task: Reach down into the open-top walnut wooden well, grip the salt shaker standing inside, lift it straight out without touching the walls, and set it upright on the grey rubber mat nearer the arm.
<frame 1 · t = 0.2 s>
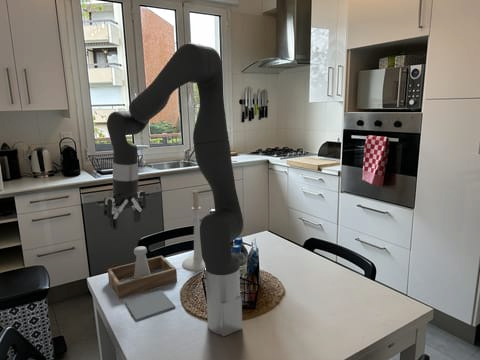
hand: (125, 225, 111), 23 cm above the table, tool pointing down, fingers open, 8 cm apart
salt shaker: (142, 282, 123), resting in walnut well
candlestick: (198, 264, 137), on the table
grey mat: (149, 305, 108), on the table
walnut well: (142, 282, 123), on the table
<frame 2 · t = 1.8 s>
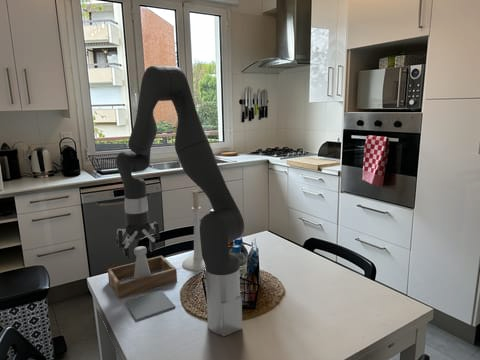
hand: (140, 254, 121), 10 cm above the table, tool pointing down, fingers open, 8 cm apart
nothing on the table moved.
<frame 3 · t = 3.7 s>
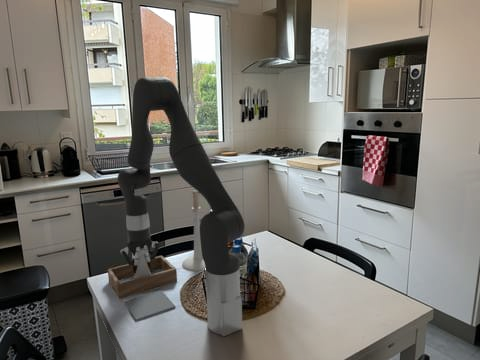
hand: (142, 272, 122), 4 cm above the table, tool pointing down, fingers closed on salt shaker, 3 cm apart
salt shaker: (142, 282, 123), resting in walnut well, touching gripper
everything else where it was.
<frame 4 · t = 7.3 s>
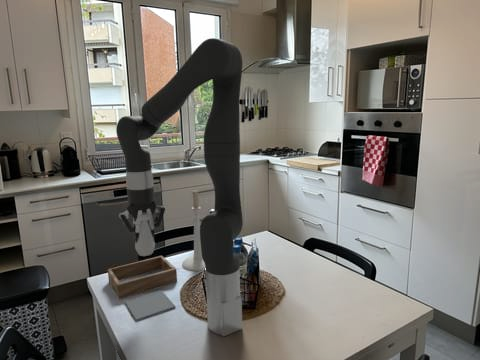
hand: (144, 241, 104), 21 cm above the table, tool pointing down, fingers closed on salt shaker, 3 cm apart
salt shaker: (145, 254, 104), point 17 cm above the table, touching gripper
everything else where it was.
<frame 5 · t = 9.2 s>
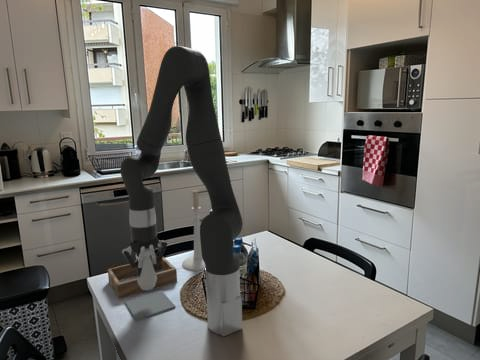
hand: (147, 275, 106), 10 cm above the table, tool pointing down, fingers closed on salt shaker, 3 cm apart
salt shaker: (147, 287, 107), point 6 cm above the table, touching gripper
everything else where it was.
when the fingers open (6 cm above the table, at t = 10.8 s): salt shaker drops 1 cm, resting on grey mat.
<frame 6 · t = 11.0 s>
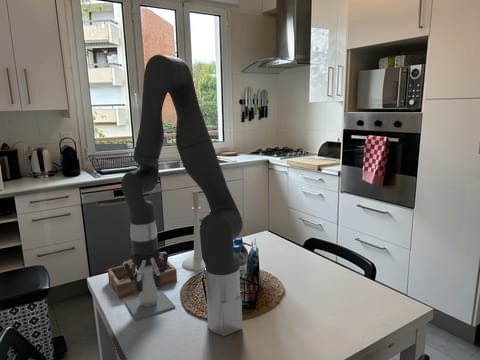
hand: (148, 288, 107), 6 cm above the table, tool pointing down, fingers open, 4 cm apart
salt shaker: (149, 304, 108), resting on grey mat
everything else where it was.
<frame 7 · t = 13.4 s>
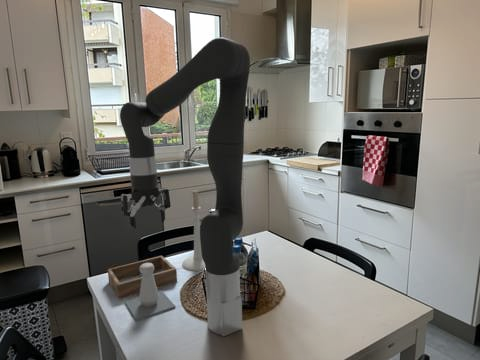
hand: (147, 225, 105), 26 cm above the table, tool pointing down, fingers open, 8 cm apart
nothing on the table moved.
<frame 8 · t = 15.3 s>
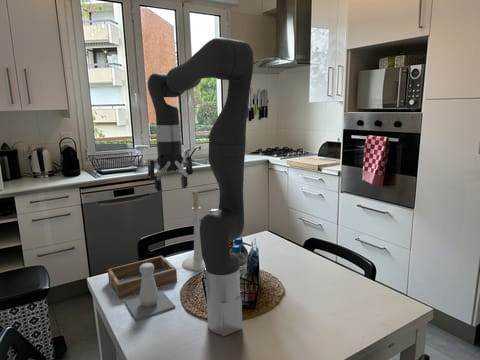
hand: (171, 189, 112), 34 cm above the table, tool pointing down, fingers open, 8 cm apart
nothing on the table moved.
at the end: salt shaker inside the target area on the grey mat (0.1 cm from its centre), point 0.4 cm above the grey mat's base; salt shaker tilted 0°; salt shaker touching grey mat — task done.
